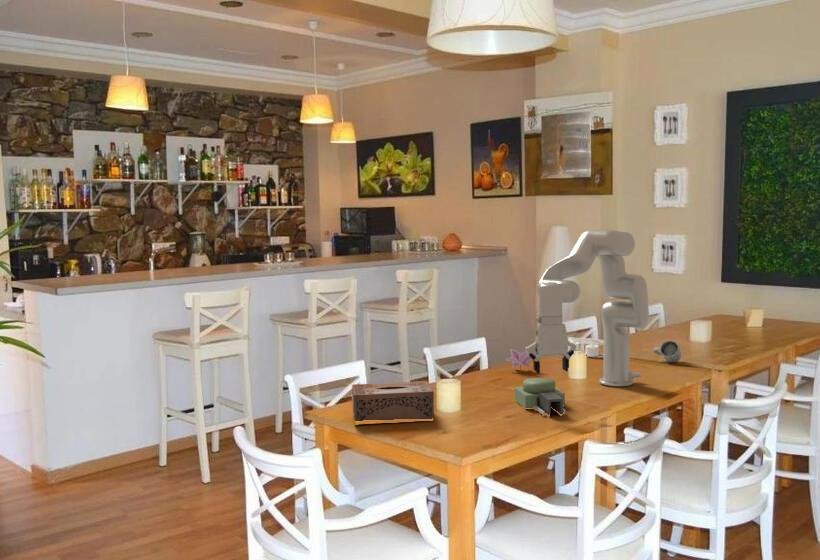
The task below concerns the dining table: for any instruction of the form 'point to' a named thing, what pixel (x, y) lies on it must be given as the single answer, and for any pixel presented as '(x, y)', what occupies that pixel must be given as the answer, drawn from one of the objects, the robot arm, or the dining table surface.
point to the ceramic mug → (669, 351)
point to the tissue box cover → (393, 401)
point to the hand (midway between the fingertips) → (551, 371)
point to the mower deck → (536, 392)
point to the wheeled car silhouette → (591, 348)
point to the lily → (519, 358)
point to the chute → (550, 402)
